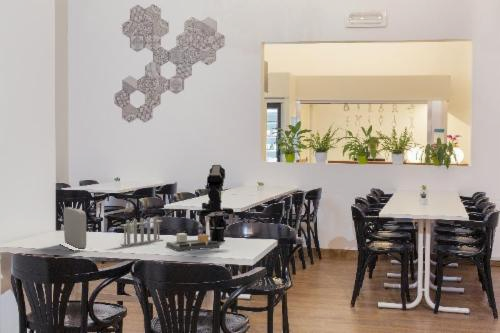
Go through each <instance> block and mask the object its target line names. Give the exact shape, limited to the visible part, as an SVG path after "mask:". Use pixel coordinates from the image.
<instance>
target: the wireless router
mask: <svg viewBox="0 0 500 333" xmlns="http://www.w3.org/2000/svg"><path fill="white" fill-rule="evenodd" d="M86 214H87V213H86V212H85V210H81V209H78V208H75V207H70V206H68V207H64V208H63V214H62V215H63V231H64V232H63V233H64V242H65V243H67V244H69V245H71V246H73V247H75V248H78V249H85V248H86V246H87V215H86ZM90 248H91V249H92V250H93V248H92V247H90ZM77 251H80V250H75V251H74V252H77Z"/></svg>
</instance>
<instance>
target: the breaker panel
mask: <svg viewBox="0 0 500 333" xmlns="http://www.w3.org/2000/svg"><path fill="white" fill-rule="evenodd" d="M208 242H213V241H210V239H208ZM188 243H198V239H191V240H190V239H189V240H188V239H187V242H177V240H176V241H167V242H166V243H165V244H166V245H165V246H166V247H167V246H168V248H170V249H172V248H173V249H172V250H175V249H176V250H175V251H177V250H179V251H178V252H181V251H180V250H188V251H192V250H191V249H198V250H201V249H200V248H209V249H217V248H216V247H219V248H220V243H219V242H218V244H208V245H196V246H185V247H179V245H180V244H188Z"/></svg>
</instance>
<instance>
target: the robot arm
mask: <svg viewBox="0 0 500 333" xmlns="http://www.w3.org/2000/svg"><path fill="white" fill-rule="evenodd" d="M206 177H207V178H206V189H209V190H208V193H207V196H208V201H207V202H201V208H202V209H197V210H196V216H198V217H209V222H208V228H209V229H208V230H209V231H210V232H209V233H210V234H209V235H210V236H209V240H210V241H213V242H214V241H217V242H218V243H219V242H225V241H226V239H225V232H224V231H225V230H227V221H226V219H225V218H224V214H227V215H234V209H233V208H231V207H223V208H222V201H223V200H222V188H223V187H224V182H225V179H226V169H225V168H224V167H223V166H222V165H221V164H212V165H211V168H210V169H209V173H208V176H206Z"/></svg>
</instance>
